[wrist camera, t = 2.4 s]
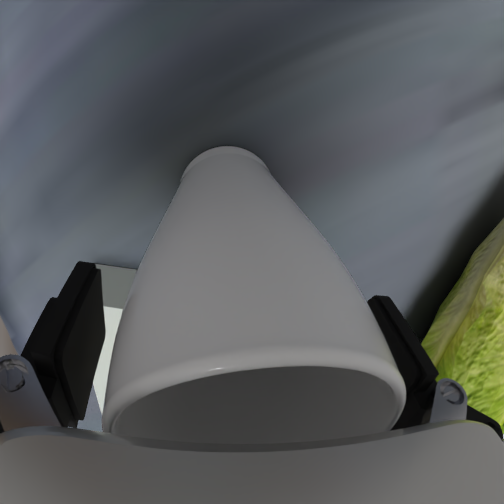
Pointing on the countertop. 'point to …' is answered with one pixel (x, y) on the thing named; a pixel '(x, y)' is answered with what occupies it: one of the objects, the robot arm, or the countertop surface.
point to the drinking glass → (246, 323)
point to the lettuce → (474, 329)
